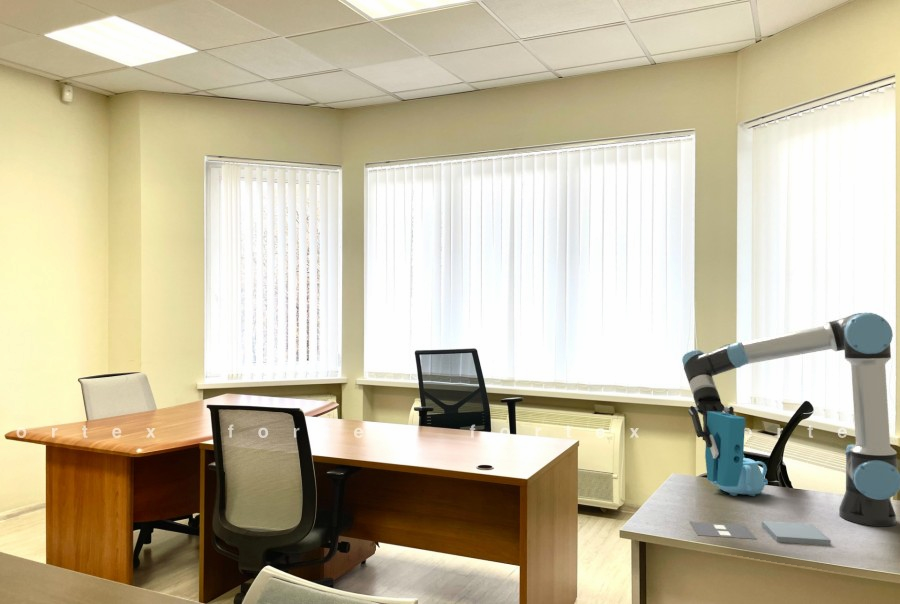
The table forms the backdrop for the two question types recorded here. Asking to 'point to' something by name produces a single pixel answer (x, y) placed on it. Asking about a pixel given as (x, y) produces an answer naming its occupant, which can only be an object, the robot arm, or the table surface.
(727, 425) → the block
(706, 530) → the mat
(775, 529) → the pad
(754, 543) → the table surface
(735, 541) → the table surface
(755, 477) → the decorative pot
